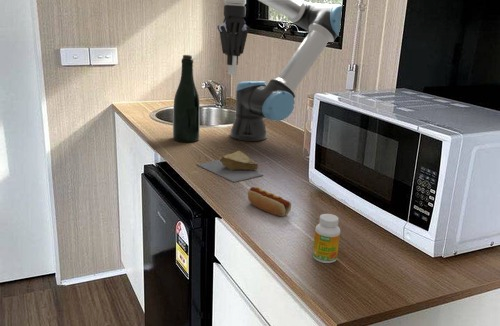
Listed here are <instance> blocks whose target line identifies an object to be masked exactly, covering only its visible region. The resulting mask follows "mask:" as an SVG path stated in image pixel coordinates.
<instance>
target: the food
mask: <svg viewBox="0 0 500 326" xmlns="http://www.w3.org/2000/svg"><path fill="white" fill-rule="evenodd" d="M247 198H248V201H249V202H250V204H251V205H253V206H255V207H256V208H258V209H260V210H261V211H263V212H266V213H269V214H270V215H274V216H278V217H284V216H287V215H288V214H289V213H290V212H291V208H292V202H291V201H289V200H287V199H284V198H283V197H282V196H278V195H276V194H274V193H271V192H268V191H267V190H262V189H261V188H260V187H257V186H256V187H254V186H252V187H250V188H249V189H248V191H247Z"/></svg>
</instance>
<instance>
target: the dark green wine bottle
mask: <svg viewBox="0 0 500 326" xmlns="http://www.w3.org/2000/svg"><path fill="white" fill-rule="evenodd" d="M180 62H181V73H180V80H179V84H178V86H177V89H176V91H175V94H174V98H173V111H172V113H173V115H172V116H173V117H172V139H173V140H174V141H176V142H179V143H193V142H197V141H199V139H200V133H201V132H200V129H201V128H200V126H201V125H200V123H201V122H200V119H201V118H200V116H201V114H200V112H201V111H200V109H201V107H200V98H199V93H198V92H199V91H198V90H197V86H196V84H195V79H194V70H193V69H194V60H193V56H192V55H190V54H184V55H182V58H181V61H180Z"/></svg>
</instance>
